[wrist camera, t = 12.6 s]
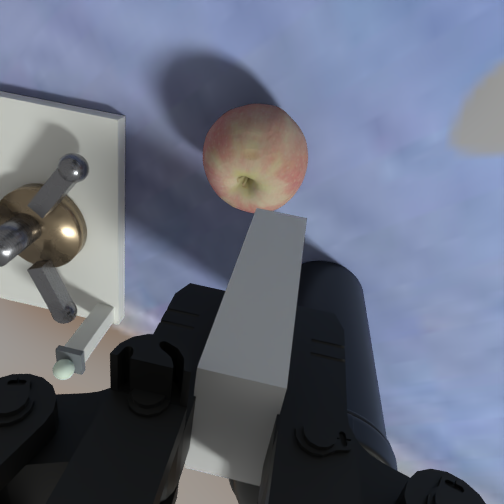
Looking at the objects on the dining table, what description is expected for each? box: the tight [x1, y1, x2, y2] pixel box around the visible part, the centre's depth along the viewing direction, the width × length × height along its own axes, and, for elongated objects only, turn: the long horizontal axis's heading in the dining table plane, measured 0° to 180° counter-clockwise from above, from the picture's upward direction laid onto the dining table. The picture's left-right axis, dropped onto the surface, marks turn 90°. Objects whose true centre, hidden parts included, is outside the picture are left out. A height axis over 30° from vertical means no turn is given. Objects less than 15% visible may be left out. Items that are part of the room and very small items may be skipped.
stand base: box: [0, 91, 125, 380], centre depth 39 cm, size 22×16×11 cm
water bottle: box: [229, 261, 397, 504], centre depth 33 cm, size 10×10×23 cm
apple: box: [203, 104, 308, 213], centre depth 33 cm, size 8×8×8 cm
